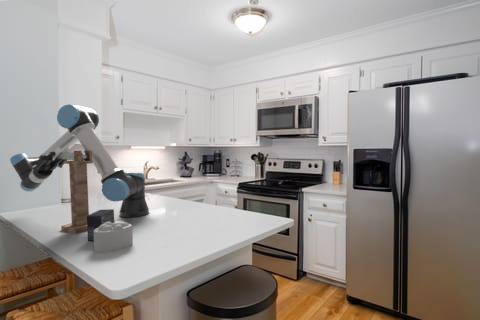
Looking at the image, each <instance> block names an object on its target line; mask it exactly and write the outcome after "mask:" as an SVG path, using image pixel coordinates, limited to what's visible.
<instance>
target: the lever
mask: <svg viewBox="0 0 480 320" xmlns="http://www.w3.org/2000/svg"><path fill="white" fill-rule="evenodd" d="M51 153H52V152H49V154H51ZM52 159H53V158H52ZM55 159H67V161H72V160H74V152H61V153H60V154H59V155H58V156H57V157H56V158H55ZM82 160H88V154H87V153H84V152H83V153H82Z"/></svg>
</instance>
